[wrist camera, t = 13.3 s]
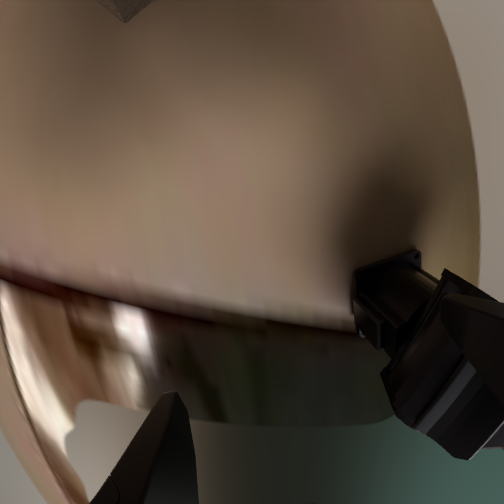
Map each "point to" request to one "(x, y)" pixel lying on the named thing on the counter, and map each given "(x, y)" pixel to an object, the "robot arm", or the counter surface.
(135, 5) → the socket block
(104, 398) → the counter surface
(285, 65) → the counter surface
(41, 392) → the counter surface
